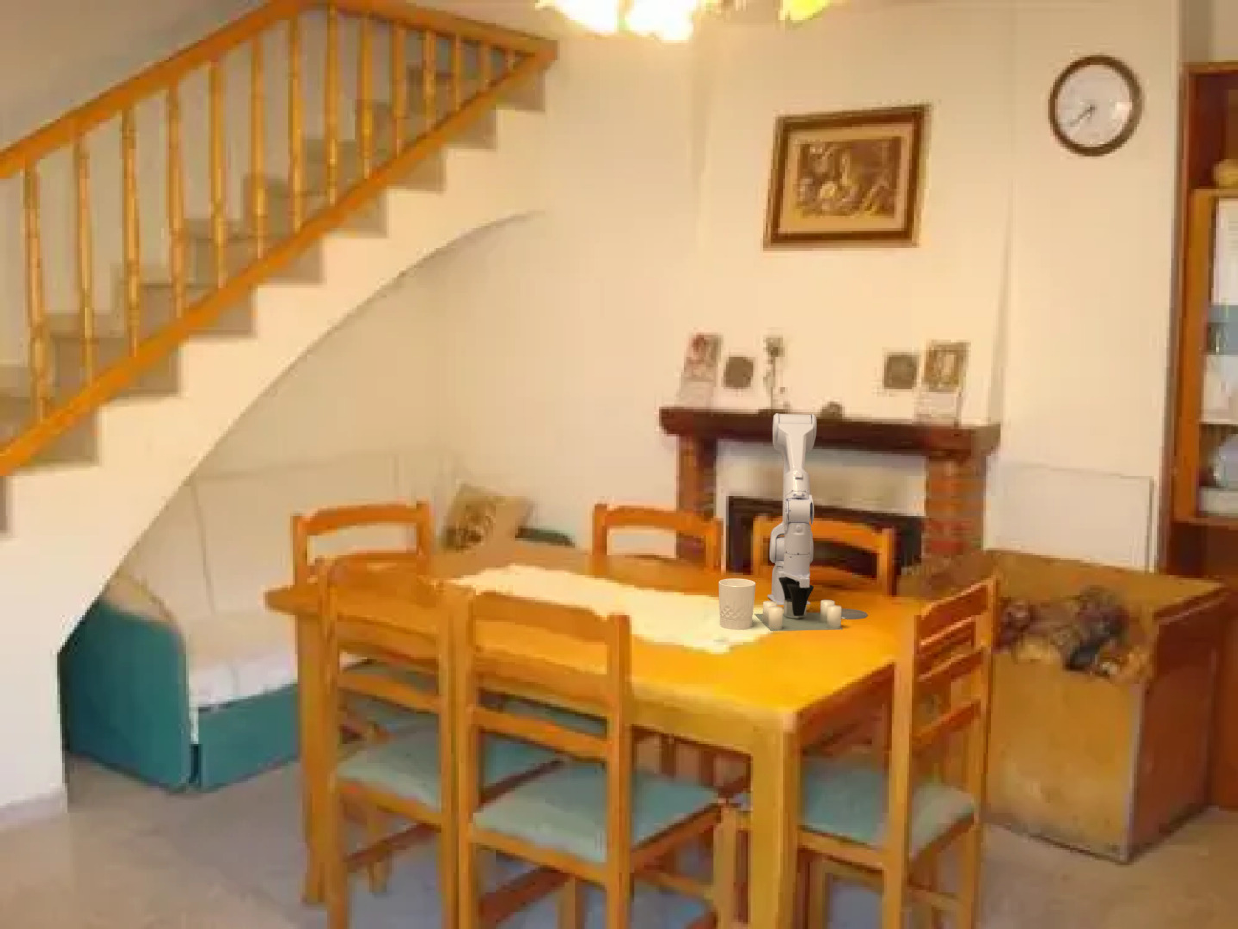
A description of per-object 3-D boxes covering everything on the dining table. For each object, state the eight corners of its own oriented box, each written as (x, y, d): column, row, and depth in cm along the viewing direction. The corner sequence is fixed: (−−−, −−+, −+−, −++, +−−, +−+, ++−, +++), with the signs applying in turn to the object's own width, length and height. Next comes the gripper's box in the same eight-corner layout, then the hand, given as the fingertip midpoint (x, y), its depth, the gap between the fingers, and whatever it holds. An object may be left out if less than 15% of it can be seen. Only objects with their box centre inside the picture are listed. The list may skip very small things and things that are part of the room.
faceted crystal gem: (781, 613, 316) (782, 598, 316) (801, 613, 317) (801, 597, 317) (788, 618, 311) (788, 603, 311) (807, 618, 312) (808, 602, 312)
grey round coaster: (821, 611, 321) (822, 609, 321) (860, 610, 323) (860, 608, 322) (833, 621, 312) (833, 618, 312) (872, 620, 314) (872, 617, 314)
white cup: (724, 633, 301) (726, 587, 299) (712, 624, 308) (713, 579, 307) (759, 631, 303) (760, 585, 301) (746, 622, 310) (747, 577, 309)
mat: (753, 615, 316) (754, 613, 316) (822, 614, 319) (823, 612, 319) (770, 632, 302) (770, 630, 302) (843, 631, 304) (843, 629, 304)
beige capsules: (761, 621, 310) (761, 601, 309) (831, 619, 312) (832, 599, 312) (770, 630, 302) (770, 609, 301) (842, 628, 304) (843, 608, 304)
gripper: (771, 546, 319) (769, 605, 321) (788, 559, 305) (786, 620, 306) (801, 545, 320) (799, 604, 322) (819, 558, 306) (817, 620, 308)
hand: (794, 612), depth 314 cm, fingers closed on faceted crystal gem, 5 cm apart
